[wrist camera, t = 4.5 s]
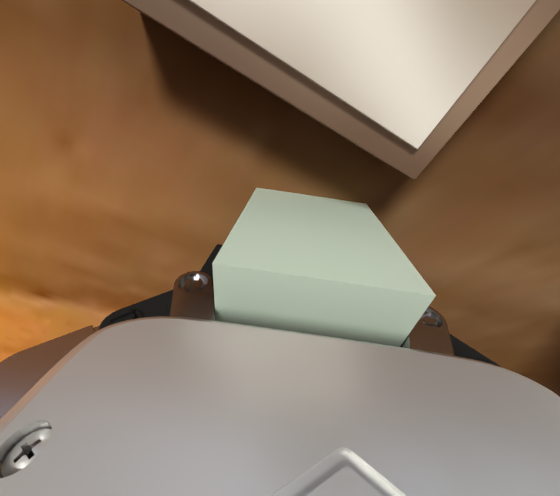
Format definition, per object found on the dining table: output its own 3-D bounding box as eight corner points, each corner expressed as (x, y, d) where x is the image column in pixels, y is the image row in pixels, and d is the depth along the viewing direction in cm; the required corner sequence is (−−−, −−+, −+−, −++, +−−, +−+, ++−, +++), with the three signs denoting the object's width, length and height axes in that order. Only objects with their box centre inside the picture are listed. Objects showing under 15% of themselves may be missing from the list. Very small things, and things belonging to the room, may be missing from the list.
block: (337, 286, 15) (362, 400, 9) (250, 273, 15) (218, 379, 9) (366, 203, 12) (435, 295, 6) (256, 187, 12) (212, 263, 6)
